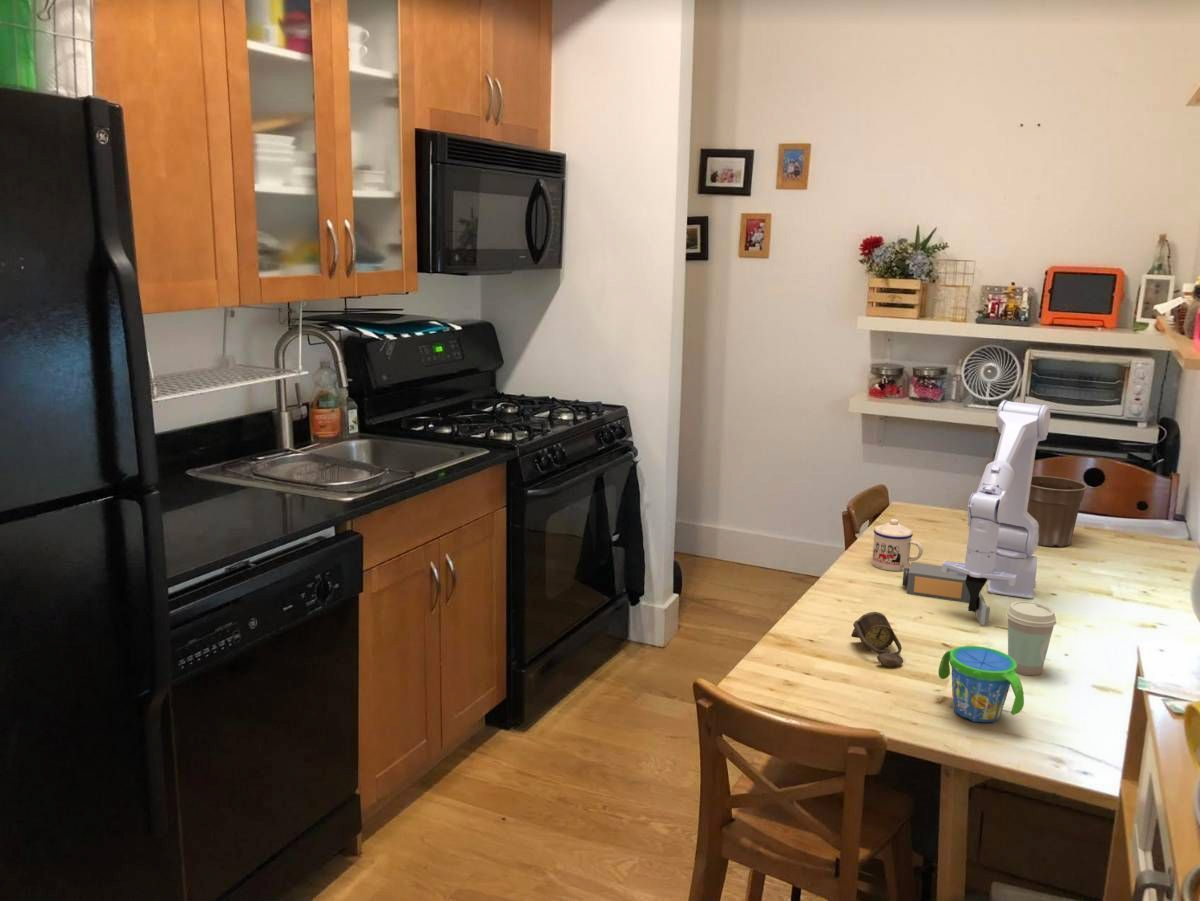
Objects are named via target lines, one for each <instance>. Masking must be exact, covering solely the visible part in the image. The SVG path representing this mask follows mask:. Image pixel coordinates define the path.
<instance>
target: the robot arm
mask: <svg viewBox="0 0 1200 901" xmlns="http://www.w3.org/2000/svg"><path fill="white" fill-rule="evenodd" d="M1050 421H1051V410H1050V407H1049V406H1048V405H1047V404H1043V405H1041V404H1034V403H1026V402H1018V401H1017V402H1016V401H1009V400H1006V399H1004V400H1003V401H1002V402H1000V403H999V405H998V406H997V411H996V419H995V422H996V425H997V429H998V430H997V431H998V434H1000V436H999V440H998V444H997V447H996V448H997V449H996V450H995V451H996V452H995V456H994V459H993V461H992V462H989V463H988V464H986V466H985V468H984V471H983V474H982V476H981V479H980V482H979V484H978V487H977V491H976V492H972V493H971V494H970V497H969V498H968V504H967V511H966V512H967V526H968V528H969V529H968V537H967V545H966V552H965V553H966V554H965V561H964V562H957V561H956V562H955V561H948V560H944V561H943V562H942V565H941V566H942V572H951V573H956V574H961V575H966V576H967V577H966V580H965V583H966V586H967V588H968V591H969V594H970V602H969V603H968V607H967V608H968V611H969V612H973V613H975V612H976V611H977V609H978V600H979V593H980V591H982V589H983V588H984V586H986V583H987V593H988V594H996V595H1002V596H1010V597H1018V598H1024V599H1031V600H1032V599H1034V593H1035V589H1036V585H1037V584H1036V583H1037V581H1036V575H1037V569H1038V568H1037V567H1038V557H1037V556H1036V555H1034V554H1035V553H1036V551H1037V548H1038V546H1039V545H1038V538H1039V534H1038V528H1039V525H1038V522H1037V521H1036V520H1035V519H1034V518H1033V517H1032V516H1031V515H1030V514H1029V513H1028V512H1027V508H1028V501H1029V494H1030V487H1031V480H1032V476H1033V471H1034V466H1035V465H1034V464H1035V457H1036V451H1037V447H1038V444H1039V442H1041V441H1046V440H1047V436H1048V435H1049V429H1050V428H1049V427H1050ZM1022 526H1023V527H1022Z"/></svg>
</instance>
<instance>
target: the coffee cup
mask: <svg viewBox="0 0 1200 901" xmlns="http://www.w3.org/2000/svg"><path fill="white" fill-rule="evenodd" d="M1005 615H1006V617H1007V655H1009V656H1010V657H1011V658H1013V659H1014V660H1015V662H1016V663H1017V669H1016V674H1017V673H1018V674H1020V675H1025V676H1039V675H1040V674H1041V673H1042V671H1043V668H1044V664H1045V660H1046V657H1047V654H1048V649H1049V645H1050V642H1051V639H1052V638H1051V637H1052V633H1053V630H1054V626H1055V625H1057V618H1056V615H1055V611H1054V609H1053V608H1051V607H1049V606H1048V605H1045V604H1042V603H1039V602H1034V601H1023V600H1022V601H1021V600H1019V601H1015V602H1012V603H1011V604H1010V606H1009V608H1008V609H1007V612H1006V614H1005Z"/></svg>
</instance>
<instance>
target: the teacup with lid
mask: <svg viewBox="0 0 1200 901" xmlns="http://www.w3.org/2000/svg"><path fill="white" fill-rule="evenodd" d="M873 533H874V534H873V536H874V537H873V547H872V556H871V557H872V558H871V559H872V560H871V563H872V564H871V565H872V566H874V567H876V568H877V569H880V570H883V571H888V572H901V571H904V568H908V569H909V568H910V562H915V561H918V560H919V559H920V558H921V557H922V555H923V551H924V548H923V546H922V544H921V543H920V542H919V541H917V540H912V537H913V535H914V534H913V532H912V529H910V528H908V527H906V526H905V525H902V524H901V523H899V520H898V519H896V518H891V519H889V522H885V523H884V524H879V525H876V526H875V527H874V529H873ZM911 545H915V546H916V547H917V548H918V554H917V556H916V557H910V555H911Z"/></svg>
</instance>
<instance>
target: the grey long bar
mask: <svg viewBox="0 0 1200 901" xmlns="http://www.w3.org/2000/svg"><path fill="white" fill-rule="evenodd" d="M981 591H982V590H981ZM981 591H980V593H979V600H978V609H977V611H976V612H974V613H975V616H976V618H977V620H978V622H979V625H980V626H985V625H986V624H985V622H987V623H989V622H990V615H991V614H990V613H991V612H990V611H991V607H990V606H988V604H987V603H986V601H985V599H984V596H983V594H982V592H981Z"/></svg>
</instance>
